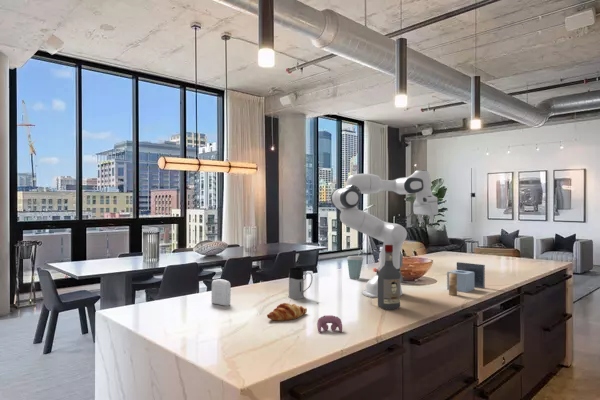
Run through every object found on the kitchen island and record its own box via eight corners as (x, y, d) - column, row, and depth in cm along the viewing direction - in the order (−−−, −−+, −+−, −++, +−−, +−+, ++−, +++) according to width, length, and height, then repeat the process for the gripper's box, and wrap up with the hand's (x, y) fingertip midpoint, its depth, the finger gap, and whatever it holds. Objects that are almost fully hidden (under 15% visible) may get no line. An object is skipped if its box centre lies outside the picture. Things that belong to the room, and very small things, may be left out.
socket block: (466, 292, 238) (466, 274, 238) (447, 289, 246) (447, 271, 246) (474, 289, 246) (474, 271, 246) (455, 286, 254) (455, 269, 254)
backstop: (469, 294, 236) (469, 268, 236) (442, 290, 247) (442, 265, 247) (484, 288, 250) (484, 264, 250) (458, 285, 261) (458, 262, 261)
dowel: (452, 297, 229) (452, 274, 229) (447, 295, 233) (447, 273, 233) (458, 296, 231) (458, 274, 231) (453, 294, 234) (453, 272, 234)
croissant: (302, 320, 198) (297, 303, 201) (315, 313, 191) (310, 296, 194) (264, 327, 185) (259, 309, 188) (276, 321, 178) (271, 302, 181)
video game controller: (341, 334, 171) (340, 316, 174) (343, 332, 167) (342, 313, 170) (317, 334, 171) (316, 316, 174) (317, 332, 167) (317, 314, 170)
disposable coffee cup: (344, 277, 288) (344, 255, 288) (358, 276, 291) (359, 254, 291) (350, 280, 278) (350, 257, 278) (366, 279, 281) (366, 256, 281)
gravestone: (231, 304, 213) (231, 279, 213) (226, 306, 209) (226, 280, 209) (215, 302, 218) (215, 277, 218) (210, 303, 214) (210, 279, 214)
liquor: (375, 306, 210) (375, 244, 210) (391, 304, 213) (391, 243, 213) (385, 310, 201) (385, 246, 201) (402, 308, 204) (402, 245, 204)
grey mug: (293, 294, 236) (293, 267, 236) (316, 297, 228) (316, 269, 228) (284, 297, 228) (284, 269, 228) (308, 300, 221) (308, 271, 221)
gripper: (409, 199, 253) (411, 222, 254) (429, 199, 234) (431, 224, 234) (419, 198, 255) (421, 221, 255) (439, 197, 235) (441, 222, 236)
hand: (426, 222), depth 244 cm, fingers open, 8 cm apart
